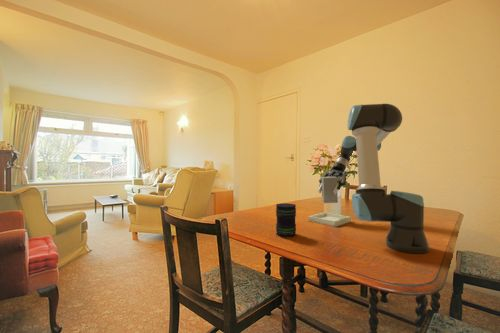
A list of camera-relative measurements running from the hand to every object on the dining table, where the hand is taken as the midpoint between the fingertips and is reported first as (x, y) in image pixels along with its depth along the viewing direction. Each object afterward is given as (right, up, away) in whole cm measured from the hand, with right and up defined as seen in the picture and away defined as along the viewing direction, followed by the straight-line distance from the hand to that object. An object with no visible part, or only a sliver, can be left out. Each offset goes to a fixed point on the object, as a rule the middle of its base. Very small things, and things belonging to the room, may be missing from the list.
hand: (326, 192), depth 144 cm
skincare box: (+2, -7, +2) cm, 7 cm away
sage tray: (+2, -18, +2) cm, 18 cm away
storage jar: (-28, -19, -25) cm, 42 cm away
